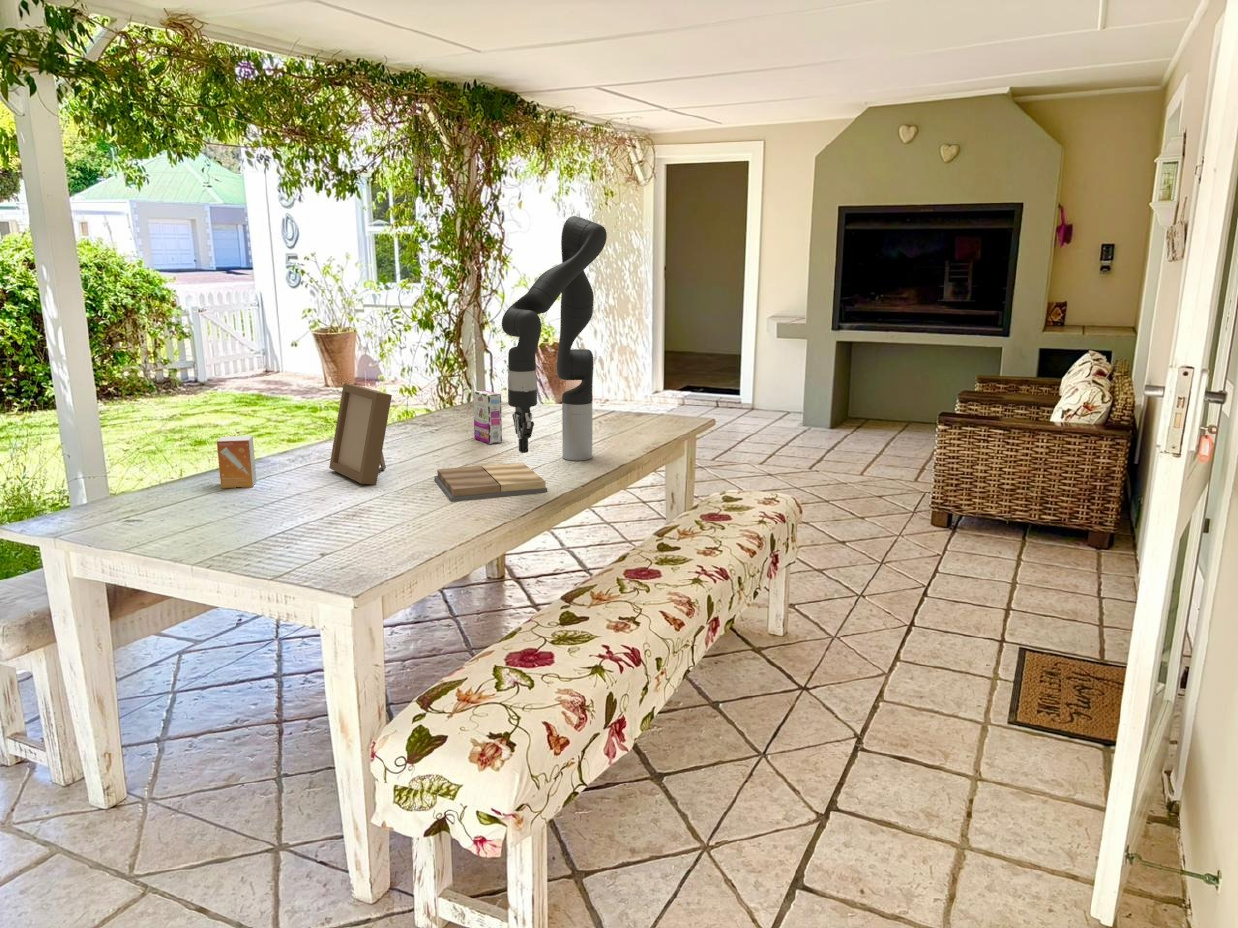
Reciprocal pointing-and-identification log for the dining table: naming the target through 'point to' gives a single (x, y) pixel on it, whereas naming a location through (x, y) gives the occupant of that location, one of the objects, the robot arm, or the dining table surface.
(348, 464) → the photo frame
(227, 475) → the small box
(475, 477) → the walnut plank
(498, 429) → the candy bar box
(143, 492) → the dining table surface
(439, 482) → the underlay mat
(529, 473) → the oak plank
